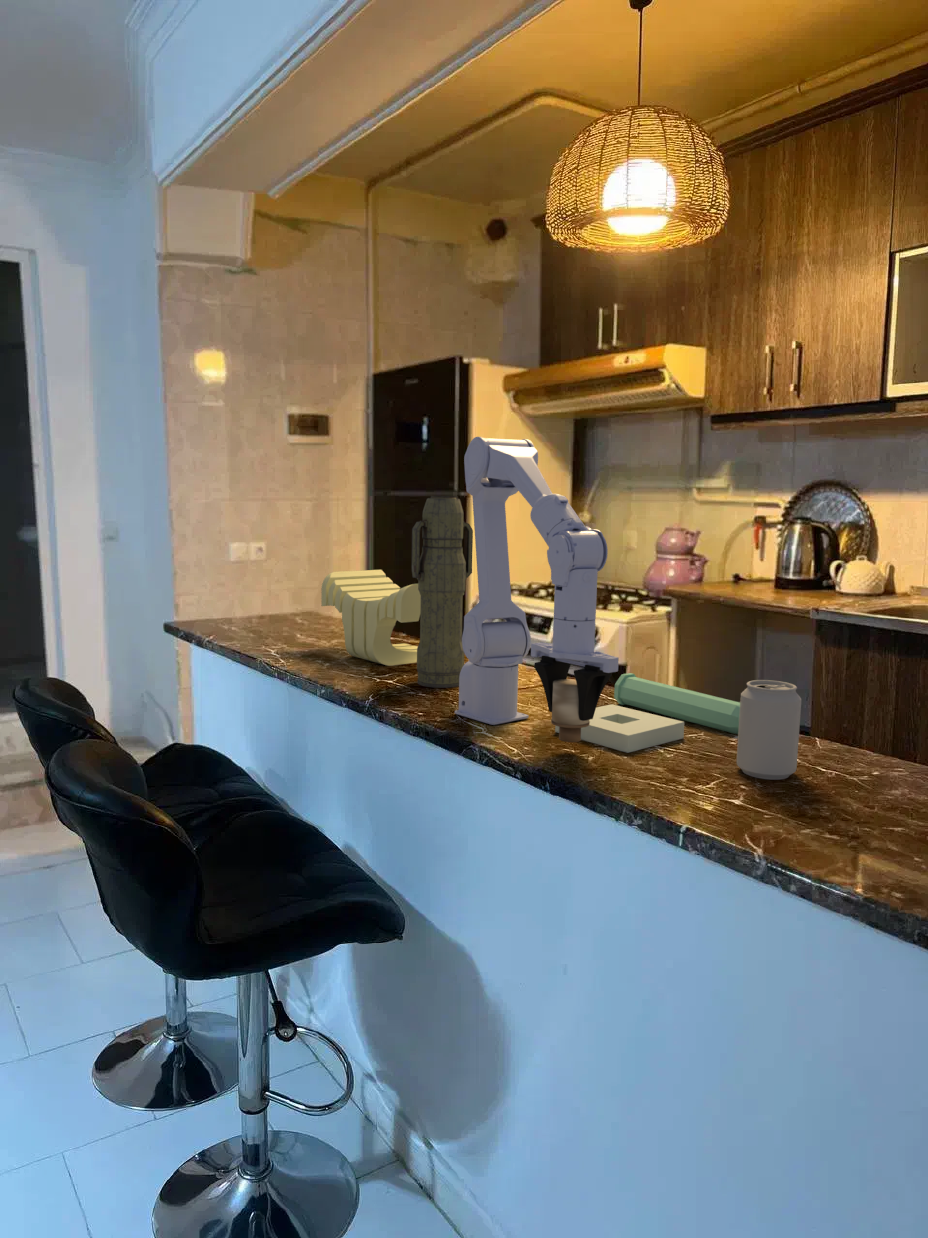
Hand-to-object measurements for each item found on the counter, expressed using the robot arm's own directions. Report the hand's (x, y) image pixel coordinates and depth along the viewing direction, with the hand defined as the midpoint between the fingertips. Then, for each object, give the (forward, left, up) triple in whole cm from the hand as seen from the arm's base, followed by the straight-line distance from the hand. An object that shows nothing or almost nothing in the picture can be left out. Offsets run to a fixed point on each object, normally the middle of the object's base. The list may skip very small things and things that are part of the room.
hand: (570, 715), depth 126 cm
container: (-3, +30, -6) cm, 31 cm away
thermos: (-47, +15, -6) cm, 50 cm away
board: (-2, +13, -5) cm, 14 cm away
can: (+22, +14, -6) cm, 27 cm away
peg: (0, 0, -3) cm, 3 cm away
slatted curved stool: (-73, +22, -6) cm, 76 cm away
